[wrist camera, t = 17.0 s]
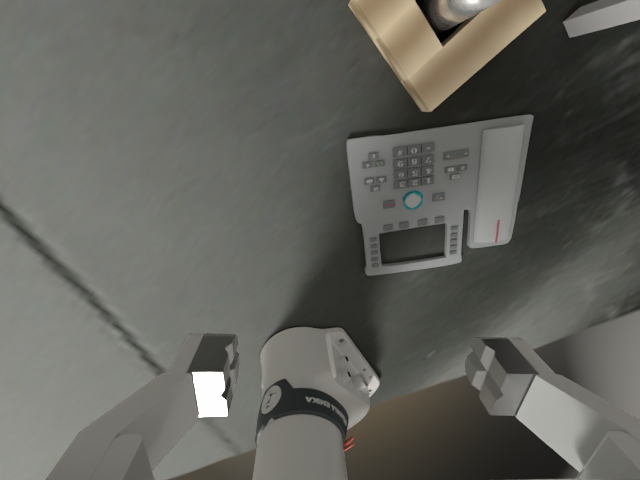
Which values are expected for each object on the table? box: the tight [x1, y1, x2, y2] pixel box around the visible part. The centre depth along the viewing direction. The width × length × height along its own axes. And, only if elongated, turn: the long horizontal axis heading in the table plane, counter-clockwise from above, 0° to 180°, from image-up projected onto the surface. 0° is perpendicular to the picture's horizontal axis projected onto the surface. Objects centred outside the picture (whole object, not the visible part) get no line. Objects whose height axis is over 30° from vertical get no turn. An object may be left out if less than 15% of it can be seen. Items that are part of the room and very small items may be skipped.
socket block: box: [348, 0, 546, 112], centre depth 31 cm, size 14×14×3 cm
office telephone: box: [346, 114, 534, 276], centre depth 40 cm, size 23×3×20 cm
